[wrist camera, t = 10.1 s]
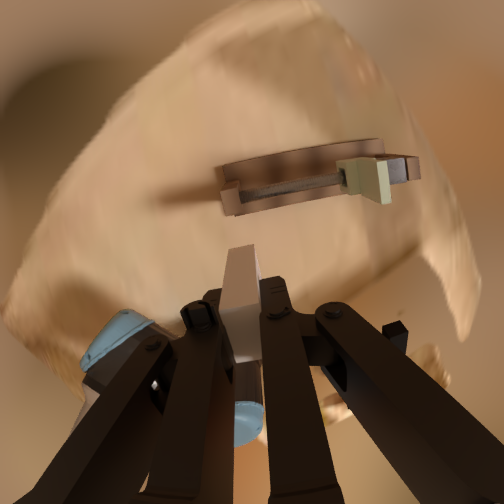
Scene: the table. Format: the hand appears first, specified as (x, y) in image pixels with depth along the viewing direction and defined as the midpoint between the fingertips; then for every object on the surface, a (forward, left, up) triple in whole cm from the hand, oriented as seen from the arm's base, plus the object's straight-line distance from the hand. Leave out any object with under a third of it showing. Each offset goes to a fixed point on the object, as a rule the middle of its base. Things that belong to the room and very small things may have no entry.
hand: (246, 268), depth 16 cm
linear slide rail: (+9, -6, -28) cm, 30 cm away
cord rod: (+9, -6, -20) cm, 22 cm away
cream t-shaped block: (+12, -8, -20) cm, 25 cm away
